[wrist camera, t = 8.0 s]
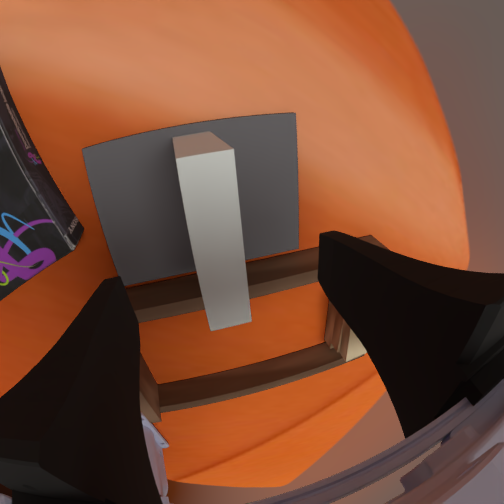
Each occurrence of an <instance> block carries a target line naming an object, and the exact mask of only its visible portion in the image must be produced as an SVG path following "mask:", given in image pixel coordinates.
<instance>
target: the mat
mask: <svg viewBox="0 0 504 504" xmlns="http://www.w3.org/2000/svg"><path fill="white" fill-rule="evenodd" d="M207 131H210V132H211V133H213V134H214V135H215V136H217V137H218V138H220V139H221V140H222V141H224V142H225V143H226V144H228V145H229V146H230V147H232V148H233V149H234V155H235V166H236V176H237V186H238V196H239V206H240V215H241V225H242V235H243V245H244V254H245V260H248V259H253V258H257V257H262V256H267V255H271V254H276V253H280V252H285V251H289V250H294V249H299V205H298V157H297V129H296V113H278V114H264V115H252V116H242V117H233V118H225V119H217V120H210V121H203V122H197V123H190V124H184V125H179V126H173V127H168V128H163V129H158V130H153V131H148V132H144V133H139V134H135V135H131V136H126V137H122V138H118V139H114V140H111V141H107V142H103V143H100V144H96V145H93V146H89V147H86V148H83V149H82V152H83V156H84V161H85V165H86V170H87V174H88V178H89V182H90V186H91V190H92V194H93V198H94V201H95V205H96V208H97V212H98V215H99V219H100V222H101V225H102V229H103V232H104V235H105V238H106V241H107V244H108V247H109V250H110V253H111V256H112V259H113V262H114V265H115V267H116V270H117V273H118V276H121V279H122V281H123V284H124V286H127V285H131V284H136V283H141V282H146V281H150V280H155V279H160V278H165V277H169V276H174V275H179V274H183V273H188V272H193V271H196V266H195V262H194V257H193V252H192V247H191V242H190V237H189V232H188V227H187V222H186V216H185V211H184V206H183V200H182V194H181V189H180V183H179V177H178V171H177V165H176V158H175V152H174V145H173V138H172V137H177V136H183V135H189V134H195V133H201V132H207Z"/></svg>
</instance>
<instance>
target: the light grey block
mask: <svg viewBox="0 0 504 504" xmlns="http://www.w3.org/2000/svg"><path fill="white" fill-rule="evenodd" d="M172 138H173V145H174V152H175V158H176V165H177V171H178V177H179V183H180V189H181V194H182V200H183V206H184V211H185V216H186V222H187V227H188V232H189V237H190V242H191V247H192V252H193V257H194V262H195V266H196V271H197V275H198V280H199V284H200V289H201V293H202V298H203V302H204V306H205V310H206V314H207V318H208V323H209V327H210V331H214V330H218V329H223V328H227V327H231V326H235V325H239V324H243V323H247V322H251V321H252V320H251V311H250V301H249V292H248V283H247V273H246V264H245V254H244V245H243V235H242V225H241V215H240V206H239V196H238V186H237V176H236V166H235V155H234V149H233V148H232V147H230V146H229V145H228V144H226V143H225V142H224V141H222V140H221V139H220V138H218V137H217V136H215V135H214V134H213V133H211V132H210V131H207V132H201V133H195V134H189V135H183V136H177V137H172Z"/></svg>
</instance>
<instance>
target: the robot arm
mask: <svg viewBox="0 0 504 504" xmlns="http://www.w3.org/2000/svg"><path fill="white" fill-rule="evenodd" d="M317 279H318V281H319V283H320V285H321V287H322V288H323V290H324V292H325V294H326V296H327V297H328V299H329V300H330V302H331V303H332V305H333V306H334V307H335V309H336V310H337V311H338V313H339V314H340V315H341V317H342V318H343V319H344V320H345V322H346V323H347V324H348V326H349V327H350V328H351V330H352V331H353V332H354V334H355V335H356V336H357V338H358V339H359V340H360V342H361V343H362V345H363V346H364V348H365V349H366V351H367V353H368V355H369V356H370V358H371V360H372V362H373V364H374V365H375V367H376V369H377V371H378V373H379V375H380V377H381V379H382V381H383V383H384V385H385V387H386V389H387V392H388V394H389V396H390V398H391V401H392V403H393V405H394V407H395V410H396V413H397V415H398V418H399V421H400V424H401V426H402V430H403V433H404V436H405V438H406V439H404V440H403V441H401V442H400V443H398V444H396V445H395V446H392V447H391V448H389V449H387V450H385V451H383V452H382V453H380V454H378V455H376V456H374V457H372V458H370V459H368V460H366V461H364V462H362V463H360V464H358V465H356V466H354V467H351V468H349V469H347V470H345V471H342V472H340V473H338V474H335V475H333V476H331V477H328V478H326V479H323V480H321V481H318V482H315V483H313V484H310V485H307V486H305V487H302V488H299V489H296V490H293V491H290V492H287V493H283V494H280V495H277V496H273V497H270V498H266V499H263V500H259V501H255V502H251V503H246V504H330V503H332V502H335V501H337V500H339V499H341V498H344V497H346V496H348V495H350V494H353V493H355V492H357V491H359V490H361V489H363V488H365V487H367V486H369V485H371V484H373V483H375V482H377V481H379V480H381V479H382V478H384V477H386V476H388V475H390V474H391V473H393V472H395V471H396V470H398V469H400V468H402V467H403V466H405V465H407V464H408V463H410V462H411V461H413V460H415V459H416V458H418V457H419V456H421V455H422V454H424V453H425V452H427V451H428V450H430V449H431V448H432V447H434V446H435V445H437V444H438V443H439V442H441V441H442V442H441V447H439V448H438V449H437V450H436V451H434V452H433V453H432V454H430V455H429V456H428V457H426V458H425V459H424V460H423V461H422V462H421V463H420V464H419V465H417V466H416V467H415V468H414V469H412V470H411V471H410V472H408V473H407V474H406V475H404V476H403V477H401V479H400V482H401V483H402V485H403V487H404V488H405V492H404V493H402V494H400V495H399V496H397V497H395V498H393V499H392V500H390V501H388V502H386V503H384V504H504V274H501V273H482V272H473V271H465V270H459V269H454V268H448V267H443V266H439V265H435V264H431V263H427V262H423V261H420V260H416V259H413V258H410V257H407V256H404V255H401V254H398V253H395V252H392V251H390V250H387V249H384V248H382V247H379V246H377V245H374V244H371V243H369V242H366V241H364V240H361V239H358V238H356V237H353V236H350V235H348V234H345V233H341V232H338V231H329V232H325V233H320V236H319V259H318V277H317ZM167 447H169V444H168V443H167V441H166V440H165V439H164V438H163V437H162V435H161V434H160V433H159V432H158V431H157V429H156V428H155V427H154V426H153V424H152V423H150V422H149V421H148V420H147V418H146V417H145V416H144V415H143V413H142V412H141V410H140V336H139V325H138V319H137V317H136V314H135V312H134V309H133V307H132V305H131V302H130V300H129V297H128V295H127V292H126V289H125V287H124V284H123V281H122V279H121V276H118V277H113V278H109V279H105V280H104V281H103V282H102V283H101V284H100V285H99V287H98V288H97V289H96V291H95V292H94V293H93V295H92V296H91V298H90V299H89V300H88V302H87V303H86V304H85V306H84V307H83V309H82V310H81V311H80V313H79V314H78V316H77V317H76V318H75V319H74V321H73V322H72V323H71V325H70V326H69V327H68V329H67V330H66V331H65V333H64V334H63V335H62V336H61V338H60V339H59V340H58V341H57V343H56V344H55V345H54V346H53V347H52V348H51V350H50V351H49V352H48V353H47V354H46V355H45V356H44V357H43V359H42V360H41V361H40V362H39V363H38V364H37V365H36V366H35V367H34V368H33V369H32V370H31V371H30V372H29V373H28V374H27V375H26V376H25V377H24V378H23V379H22V380H20V381H19V382H18V383H17V384H16V385H15V386H14V387H13V388H11V389H10V390H9V391H8V392H7V393H5V394H4V395H3V396H2V397H1V398H0V483H1V484H3V485H5V486H6V487H8V488H10V489H11V490H12V498H11V497H9V496H6V495H4V494H1V493H0V504H173V503H169V499H168V497H165V496H166V494H167V491H168V482H167V477H166V471H165V465H164V459H163V452H162V448H167Z"/></svg>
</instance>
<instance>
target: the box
mask: <svg viewBox="0 0 504 504" xmlns="http://www.w3.org/2000/svg"><path fill="white" fill-rule="evenodd" d="M83 230H84V228H83V226H82V225H81V223H80V222H79V220H78V219H77V217H76V216H75V214H74V213H73V211H72V210H71V208H70V207H69V205H68V203H67V202H66V200H65V199H64V197H63V195H62V194H61V192H60V190H59V189H58V187H57V185H56V184H55V182H54V180H53V178H52V177H51V175H50V173H49V172H48V170H47V168H46V166H45V164H44V163H43V161H42V159H41V157H40V155H39V153H38V151H37V149H36V148H35V146H34V144H33V142H32V140H31V138H30V136H29V134H28V132H27V130H26V128H25V126H24V124H23V121H22V119H21V117H20V115H19V113H18V110H17V108H16V106H15V104H14V101H13V99H12V97H11V94H10V92H9V89H8V87H7V84H6V81H5V79H4V76H3V73H2V70H1V67H0V301H1V300H2V299H3V298H5V297H6V296H7V295H9V294H10V293H11V292H13V291H14V290H15V289H17V288H18V287H19V286H21V285H22V284H23V283H25V282H26V281H28V280H29V279H31V278H32V277H33V276H35V275H36V274H38V273H39V272H41V271H42V270H44V269H45V268H46V267H48V266H50V265H51V264H53V263H54V262H56V261H58V260H59V259H61V258H62V257H64V256H66V255H67V254H69V253H70V252H72V251H74V249H75V247H76V245H77V244H78V241H79V239H80V238H81V235H82V233H83Z"/></svg>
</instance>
